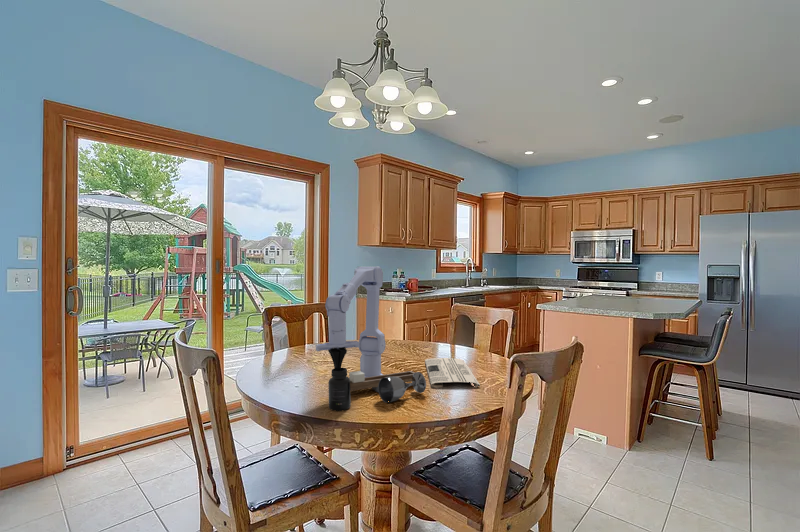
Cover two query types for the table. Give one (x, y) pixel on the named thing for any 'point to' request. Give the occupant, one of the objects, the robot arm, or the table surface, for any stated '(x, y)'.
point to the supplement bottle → (339, 390)
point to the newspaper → (448, 371)
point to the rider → (356, 376)
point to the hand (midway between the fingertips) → (337, 370)
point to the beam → (374, 380)
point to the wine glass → (399, 387)
